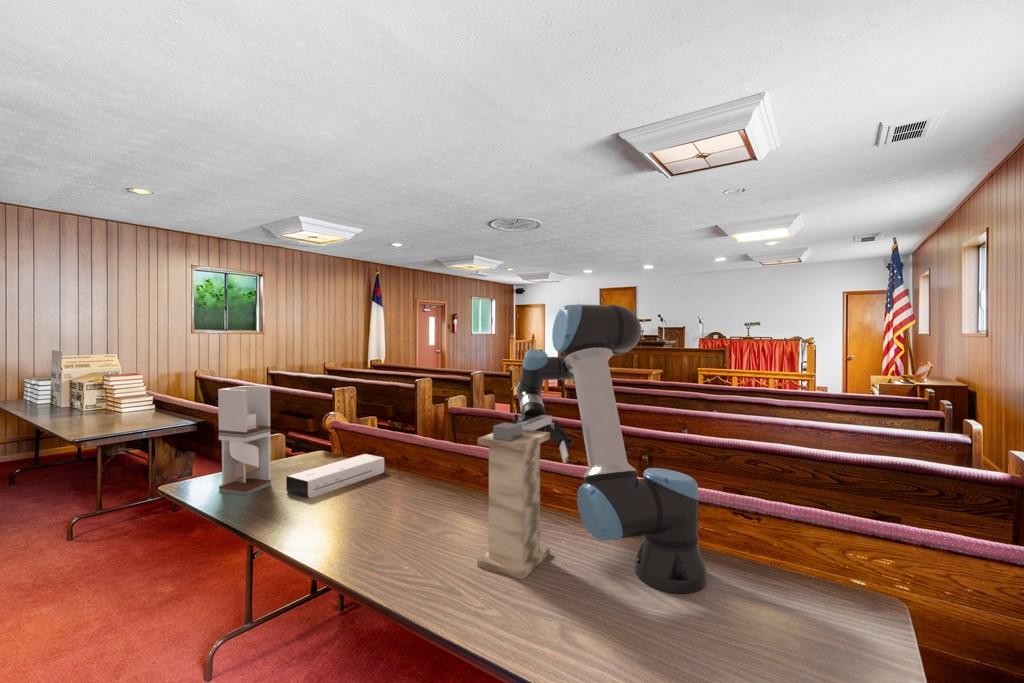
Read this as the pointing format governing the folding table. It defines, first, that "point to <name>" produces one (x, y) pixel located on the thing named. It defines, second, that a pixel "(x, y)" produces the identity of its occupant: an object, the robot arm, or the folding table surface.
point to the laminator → (334, 475)
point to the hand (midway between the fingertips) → (542, 456)
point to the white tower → (245, 438)
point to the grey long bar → (519, 428)
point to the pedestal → (514, 505)
